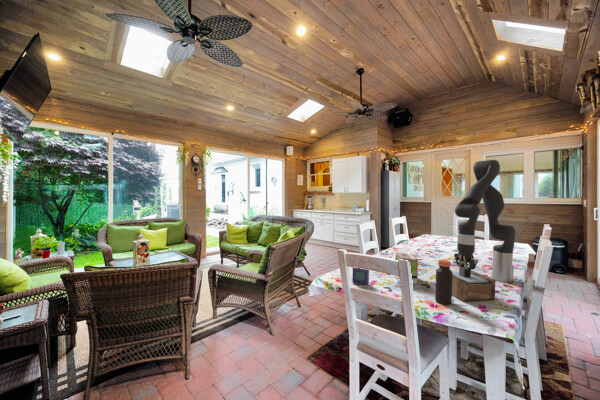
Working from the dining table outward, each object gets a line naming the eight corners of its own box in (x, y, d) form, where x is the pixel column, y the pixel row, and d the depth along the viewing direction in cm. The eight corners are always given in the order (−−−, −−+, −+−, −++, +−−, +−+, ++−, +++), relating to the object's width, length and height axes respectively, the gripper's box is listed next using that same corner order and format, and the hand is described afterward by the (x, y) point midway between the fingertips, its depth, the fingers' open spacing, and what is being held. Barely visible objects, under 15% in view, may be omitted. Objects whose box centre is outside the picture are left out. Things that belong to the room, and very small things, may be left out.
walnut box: (437, 287, 137) (438, 269, 136) (465, 286, 139) (466, 268, 138) (462, 301, 119) (463, 281, 119) (494, 300, 121) (495, 280, 121)
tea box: (417, 284, 140) (418, 259, 139) (399, 283, 142) (399, 258, 141) (411, 275, 155) (412, 252, 154) (394, 274, 157) (395, 251, 156)
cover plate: (443, 274, 135) (443, 264, 135) (466, 273, 137) (466, 263, 136) (463, 283, 121) (463, 272, 121) (488, 282, 123) (488, 271, 122)
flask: (369, 283, 141) (369, 265, 140) (368, 285, 138) (368, 266, 138) (352, 281, 144) (353, 263, 144) (351, 283, 142) (352, 264, 141)
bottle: (442, 298, 123) (443, 258, 122) (454, 304, 117) (456, 262, 116) (431, 299, 121) (433, 259, 120) (444, 306, 115) (445, 263, 114)
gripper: (484, 245, 122) (482, 280, 122) (462, 239, 135) (461, 270, 136) (470, 245, 121) (469, 280, 121) (449, 240, 135) (448, 271, 135)
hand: (464, 275), depth 129 cm, fingers closed on cover plate, 3 cm apart
